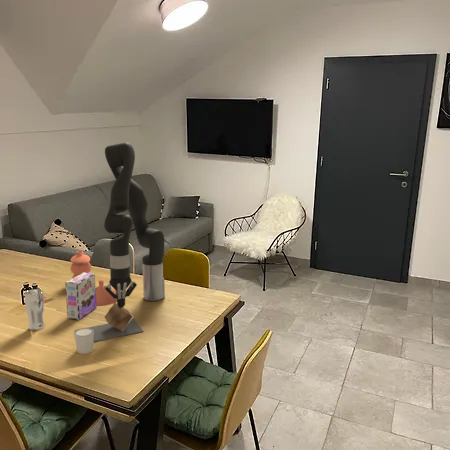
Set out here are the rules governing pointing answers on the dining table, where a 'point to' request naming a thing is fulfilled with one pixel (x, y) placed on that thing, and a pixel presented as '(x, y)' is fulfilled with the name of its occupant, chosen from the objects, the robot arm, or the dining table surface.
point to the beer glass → (35, 308)
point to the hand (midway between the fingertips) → (121, 306)
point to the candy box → (80, 295)
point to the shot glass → (84, 340)
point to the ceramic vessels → (83, 265)
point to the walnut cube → (118, 317)
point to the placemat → (114, 331)
